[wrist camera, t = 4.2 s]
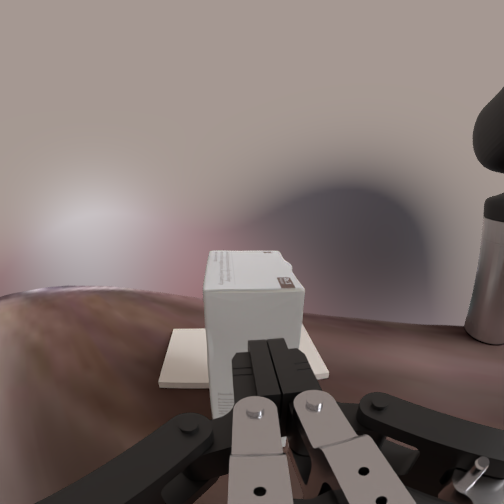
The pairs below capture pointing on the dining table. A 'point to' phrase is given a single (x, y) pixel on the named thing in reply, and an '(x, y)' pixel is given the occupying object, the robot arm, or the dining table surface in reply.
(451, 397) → the dining table surface
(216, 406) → the skincare box
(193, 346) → the mat
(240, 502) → the robot arm
